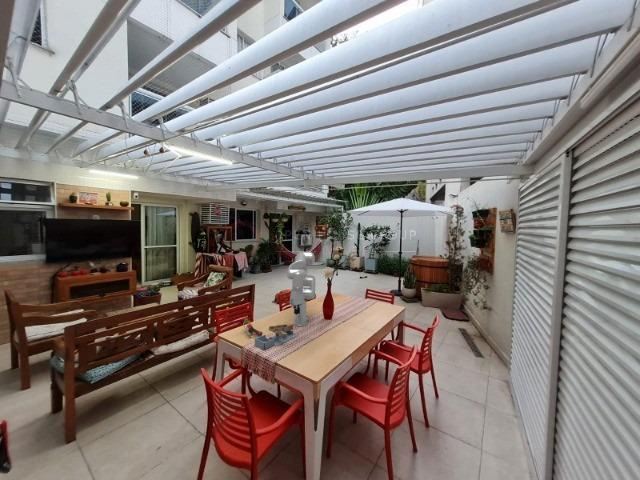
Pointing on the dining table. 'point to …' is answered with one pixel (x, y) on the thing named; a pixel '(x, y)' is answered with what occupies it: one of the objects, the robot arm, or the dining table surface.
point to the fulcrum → (283, 337)
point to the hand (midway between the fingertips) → (296, 313)
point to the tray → (264, 342)
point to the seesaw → (280, 329)
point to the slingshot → (251, 328)
